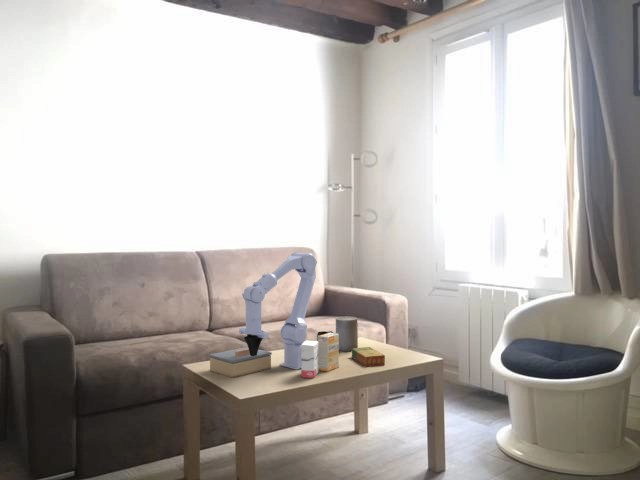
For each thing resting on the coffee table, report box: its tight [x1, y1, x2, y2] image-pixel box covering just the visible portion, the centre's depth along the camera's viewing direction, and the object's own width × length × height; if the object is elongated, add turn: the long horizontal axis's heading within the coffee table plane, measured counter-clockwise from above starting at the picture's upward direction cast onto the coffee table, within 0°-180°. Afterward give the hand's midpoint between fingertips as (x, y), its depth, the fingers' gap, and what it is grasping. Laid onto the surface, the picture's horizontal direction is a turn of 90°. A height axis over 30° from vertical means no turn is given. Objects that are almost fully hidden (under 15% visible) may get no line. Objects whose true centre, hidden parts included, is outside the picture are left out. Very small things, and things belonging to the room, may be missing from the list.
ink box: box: [300, 339, 319, 379], centre depth 204 cm, size 9×5×12 cm, turn 168°
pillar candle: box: [335, 315, 359, 352], centre depth 246 cm, size 10×10×15 cm
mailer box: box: [209, 355, 272, 379], centre depth 211 cm, size 14×18×5 cm
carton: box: [351, 346, 386, 367], centre depth 225 cm, size 8×16×4 cm, turn 17°
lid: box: [208, 346, 273, 363], centre depth 211 cm, size 14×18×3 cm
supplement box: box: [318, 332, 340, 372], centre depth 212 cm, size 8×5×13 cm, turn 148°
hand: (253, 355), depth 206 cm, fingers closed
